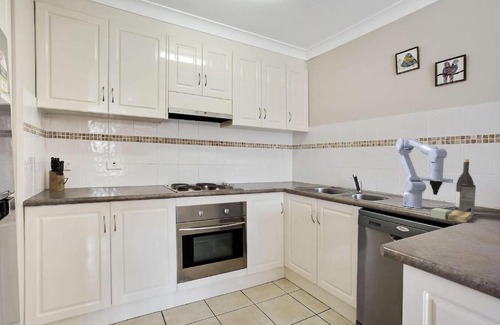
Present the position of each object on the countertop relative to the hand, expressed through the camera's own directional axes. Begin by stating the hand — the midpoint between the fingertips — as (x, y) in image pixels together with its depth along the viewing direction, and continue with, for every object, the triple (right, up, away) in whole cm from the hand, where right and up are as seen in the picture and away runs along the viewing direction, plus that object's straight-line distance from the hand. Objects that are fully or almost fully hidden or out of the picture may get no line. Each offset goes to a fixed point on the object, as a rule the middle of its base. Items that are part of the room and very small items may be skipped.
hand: (435, 194), depth 142 cm
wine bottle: (+24, -10, +10) cm, 28 cm away
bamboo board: (+3, -10, -13) cm, 17 cm away
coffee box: (+16, -11, -1) cm, 19 cm away
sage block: (-5, -10, -10) cm, 16 cm away
